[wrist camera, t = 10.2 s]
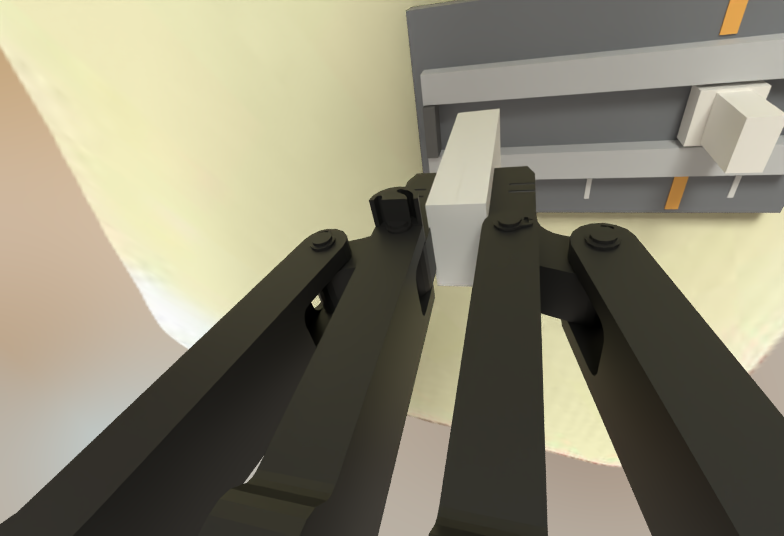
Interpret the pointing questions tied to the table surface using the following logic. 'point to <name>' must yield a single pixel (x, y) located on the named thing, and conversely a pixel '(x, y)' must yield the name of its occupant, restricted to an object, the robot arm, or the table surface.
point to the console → (600, 94)
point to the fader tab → (732, 124)
